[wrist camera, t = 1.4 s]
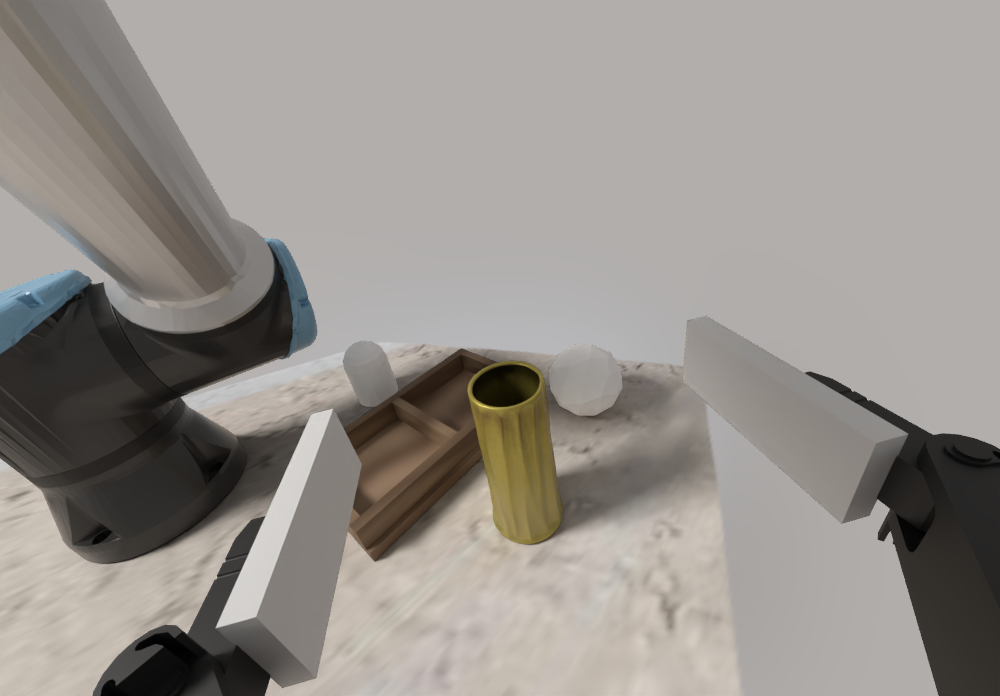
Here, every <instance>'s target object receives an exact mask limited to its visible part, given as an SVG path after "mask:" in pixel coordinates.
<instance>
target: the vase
mask: <svg viewBox="0 0 1000 696" xmlns="http://www.w3.org/2000/svg"><path fill="white" fill-rule="evenodd" d="M468 396H469V400H470V405H471V409H472V413H473V417H474V421H475V425H476V430H477V435H478V440H479V444H480V448H481V453H482V457H483V462H484V466H485V470H486V474H487V478H488V483H489V488H490V492H491V499H492V504H493V519H494V523H495V525H496V527H497V529H498V530H499V531H500V533H501V534H502V535H503V536H505V537H506V538H507V539H509V540H511V541H513V542H516V543H521V544H533V543H537V542H540V541H543V540H545V539H547V538H548V537H549V536H551V535H552V534H553V533H554V532H555V531H556V529H557V528H558V526H559V525H560V523H561V520H562V515H563V505H562V501H561V499H560V495H559V490H558V484H557V477H556V466H555V459H554V452H553V446H552V439H551V434H550V422H549V413H548V404H547V397H546V388H545V381H544V378H543V375H542V373H541V371H540V370H539V369H538V368H536V367H535V366H533V365H531V364H529V363H526V362H522V361H504V362H499V363H495V364H492V365H490V366H488V367H486V368H484V369H482V370H480V371H479V372H478V373H477V374H475V375H474V376H473V378H472V379H471V380H470V382H469V385H468Z"/></svg>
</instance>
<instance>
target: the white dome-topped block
mask: <svg viewBox="0 0 1000 696" xmlns="http://www.w3.org/2000/svg"><path fill="white" fill-rule="evenodd" d="M343 365H344V369H345V371H346V374H347V376H348V378H349V380H350V382H351V384H352V387H353V389H354V391H355V393H356V395H357V397H358V400H359V402H360V404H361V405H363V406H365V407H376V406H378V405H379V404H381V403H382V402H383V401H385V400H386V399H388V398H389V397H391V396H392V395H394V394H395V393H397V392H398V385H397V382H396V380H395V377H394V374H393V372H392V369H391V366H390V364H389V361H388V358H387V356H386V354H385V352H384V351H383V349H382V348H381V347H380V346H379V345H377V344H376V343H374V342H370V341H360V342H357V343H355V344H353V345H352V346H351V347H350V348H349V349H348V350H347V351H346V353H345V356H344V359H343Z"/></svg>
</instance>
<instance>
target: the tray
mask: <svg viewBox="0 0 1000 696" xmlns="http://www.w3.org/2000/svg"><path fill="white" fill-rule="evenodd" d="M495 363H498V362H495V361H493V360H490V359H487V358H485V357H482V356H480V355H477V354H474V353H472V352H469V351H467V350H464V349H460V350H458V351H457V352H455V353H454V354H452V355H451V356H449V357H448V358H447V359H445V360H444V361H442V362H441V363H439V364H438V365H436V366H435V367H433V368H432V369H430V370H429V371H427V372H426V373H425V374H423V375H422V376H420V377H419V378H417V379H416V380H414V381H413V382H411V383H410V384H408V385H407V386H405V387H404V388H403V389H401V390H400V391H398V392H397V393H395V394H394V395H392V396H391V397H389V398H388V399H386V400H385V401H383V402H382V403H381V404H379V405H378V406H376V407H375V408H373V409H372V410H370V411H369V412H367V413H366V414H364V415H363V416H362V417H360V418H359V419H357V420H356V421H354V422H353V423H351V424H350V425H348V426H347V427H345V428H344V430H345V432H346V434H347V436H348V438H349V440H350V442H351V444H352V446H353V448H354V450H355V452H356V454H357V456H358V458H359V460H360V462H361V464H362V466H361V471H360V475H359V480H358V485H357V490H356V494H355V499H354V504H353V508H352V513H351V518H350V522H349V527H348V532H349V533H350V534H351V535H352V536H353V537H354V539H355V540H356V541H357V542H358V543H359V544H360V545H361V547H362V548H363V549H364V550H365V551H366V552H367V553H368V555H369V556H370V557H371V558H372V559H373V560H374V561H376V560H377V559H378V558H379V557H380V556H381V555H382V554H383V553H384V552H385V551H386V550H387V549H388V548H389V547H390V546H391V545H392V544H393V543H394V542H395V541H396V540H397V539H398V538H399V537H400V536H402V535H403V534H404V533H405V532H406V531H407V530H408V529H409V528H410V527H411V526H412V525H413V524H414V523H415V522H416V521H417V520H418V519H419V518H420V517H421V516H422V515H423V514H424V513H425V512H426V511H427V510H428V509H429V508H430V507H431V506H433V505H434V504H435V503H436V502H437V501H438V500H439V499H440V498H441V497H442V496H443V495H444V494H445V493H446V492H447V491H448V490H449V489H450V488H451V487H452V486H453V485H454V484H455V483H456V482H457V481H458V480H459V479H460V478H461V477H462V476H464V475H465V474H466V473H467V472H468V471H469V470H470V469H471V468H472V467H473V466H474V465H475V464H476V463H477V462H478V461H479V460H480V459H481V458H482V453H481V448H480V444H479V440H478V435H477V430H476V425H475V421H474V417H473V413H472V409H471V405H470V400H469V396H468V385H469V382H470V380H471V379H472V378H473V376H474V375H475V374H477V373H478V372H479V371H480V370H482V369H484V368H486V367H488V366H490V365H492V364H495Z"/></svg>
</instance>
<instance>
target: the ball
mask: <svg viewBox="0 0 1000 696" xmlns="http://www.w3.org/2000/svg"><path fill="white" fill-rule="evenodd" d="M549 382H550V390H551V392H552V393H553V395H554V397H555V399H556V400H557V402H558V404H559V406H561V407H563V408H565V409H566V410H568V411H570V412H572V413H574V414H576V415H578V416H595V415H597V414H599V413H601V412H602V411H604V410H606V409H608V408H610V407H611V406H613V405H614V403H615V401H616V399H617V397H618V395H619V393H620V392H621V390H622V388H623V386H622V374H621V370H620V368H619V366H618V365H617V363H616V361H615V359H614V358H613V356H612V354H611V353H610V352H607V351H605V350H603V349H600V348H598V347H596V346H593V345H579V344H575V345H573V346H571V347H570V348H568V349H566V350H565V351H563V352H561V353H560V354H558V355H557V357H556V359H555V361H554V363H553V365H552V367H551V369H550V370H549Z"/></svg>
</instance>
